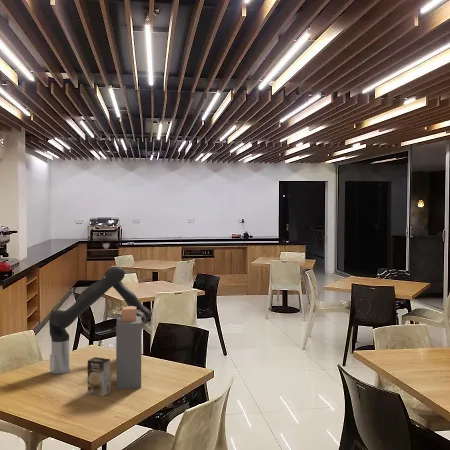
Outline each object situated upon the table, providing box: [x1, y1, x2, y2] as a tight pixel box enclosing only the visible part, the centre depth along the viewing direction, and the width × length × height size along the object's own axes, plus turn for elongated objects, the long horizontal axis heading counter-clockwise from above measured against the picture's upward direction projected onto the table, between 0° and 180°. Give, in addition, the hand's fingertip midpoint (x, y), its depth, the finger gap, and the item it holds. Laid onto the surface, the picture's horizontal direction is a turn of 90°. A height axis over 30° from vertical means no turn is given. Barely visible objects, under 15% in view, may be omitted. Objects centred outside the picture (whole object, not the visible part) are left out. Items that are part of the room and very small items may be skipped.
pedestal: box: [115, 316, 142, 390], centre depth 243 cm, size 16×12×32 cm
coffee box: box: [87, 356, 111, 397], centre depth 229 cm, size 9×6×16 cm
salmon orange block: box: [121, 305, 137, 321], centre depth 249 cm, size 19×7×6 cm, turn 10°
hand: (129, 320), depth 264 cm, fingers open, 8 cm apart
